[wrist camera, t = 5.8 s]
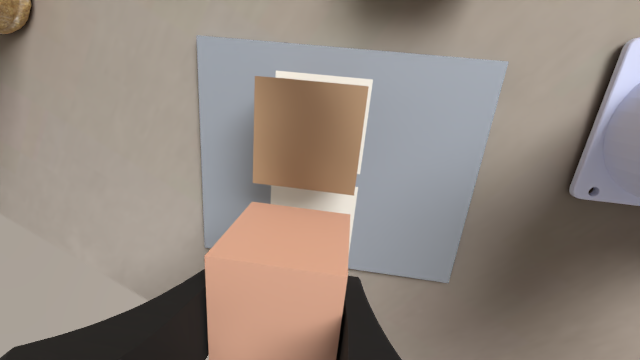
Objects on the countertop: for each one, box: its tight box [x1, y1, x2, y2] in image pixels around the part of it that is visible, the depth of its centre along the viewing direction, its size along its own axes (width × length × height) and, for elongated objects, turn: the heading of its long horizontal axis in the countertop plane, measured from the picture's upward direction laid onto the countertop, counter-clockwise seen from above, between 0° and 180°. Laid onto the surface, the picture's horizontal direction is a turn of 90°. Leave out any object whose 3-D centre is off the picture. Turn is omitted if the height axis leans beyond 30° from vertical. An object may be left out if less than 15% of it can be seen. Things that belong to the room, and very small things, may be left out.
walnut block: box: [253, 76, 369, 196], centre depth 14 cm, size 4×4×4 cm
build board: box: [197, 35, 508, 283], centre depth 17 cm, size 16×13×1 cm
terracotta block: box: [205, 202, 350, 360], centre depth 12 cm, size 4×4×4 cm
